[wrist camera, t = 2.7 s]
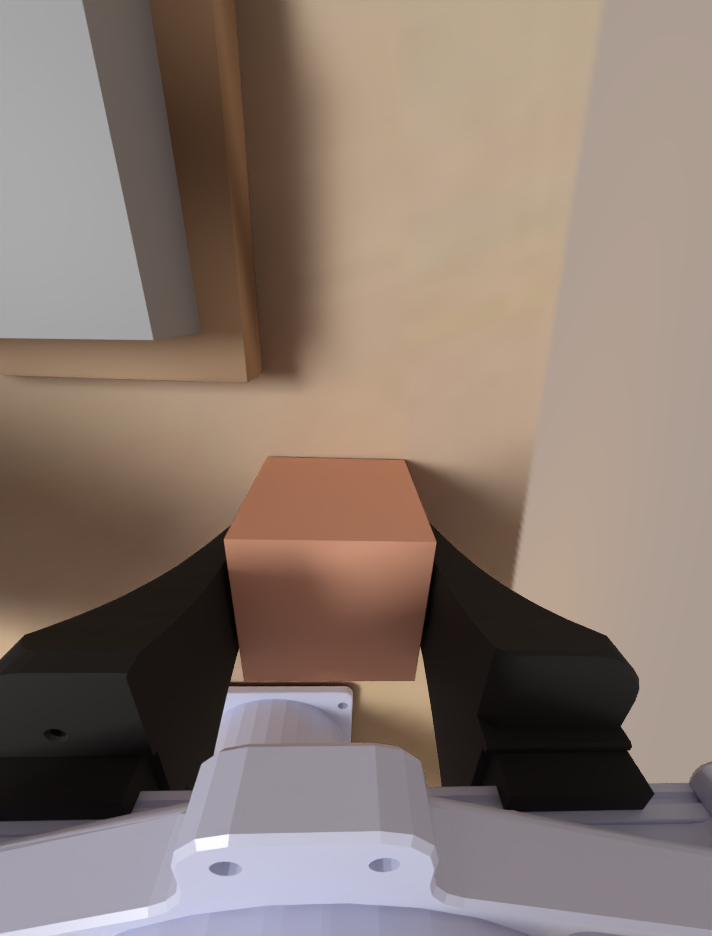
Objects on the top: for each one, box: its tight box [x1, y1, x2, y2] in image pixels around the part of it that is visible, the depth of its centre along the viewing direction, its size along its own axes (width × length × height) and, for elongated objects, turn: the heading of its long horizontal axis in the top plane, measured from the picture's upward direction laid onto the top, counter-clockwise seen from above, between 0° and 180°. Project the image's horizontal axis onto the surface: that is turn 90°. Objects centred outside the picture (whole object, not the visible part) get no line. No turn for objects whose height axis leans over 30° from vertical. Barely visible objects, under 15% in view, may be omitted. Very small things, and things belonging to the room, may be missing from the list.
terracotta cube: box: [224, 457, 436, 681], centre depth 12 cm, size 5×5×5 cm
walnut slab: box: [0, 0, 262, 383], centre depth 9 cm, size 9×9×2 cm
